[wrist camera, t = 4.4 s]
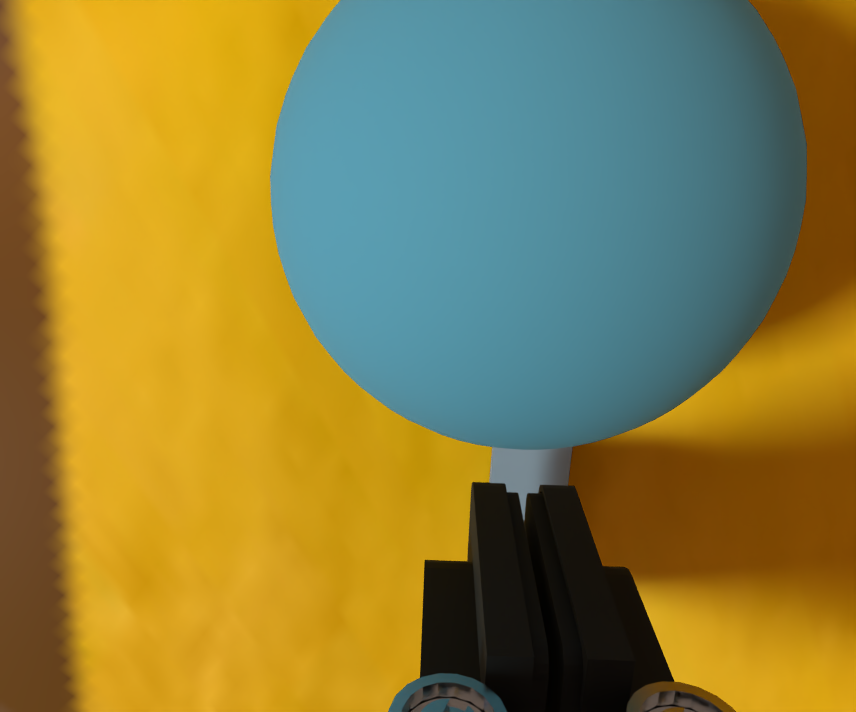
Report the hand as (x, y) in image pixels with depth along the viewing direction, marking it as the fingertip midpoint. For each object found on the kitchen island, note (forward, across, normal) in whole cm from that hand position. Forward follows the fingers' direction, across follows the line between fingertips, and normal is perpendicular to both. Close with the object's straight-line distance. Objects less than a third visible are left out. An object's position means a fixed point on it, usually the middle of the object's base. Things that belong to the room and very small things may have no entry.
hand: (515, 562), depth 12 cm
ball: (-1, 0, -6) cm, 6 cm away
